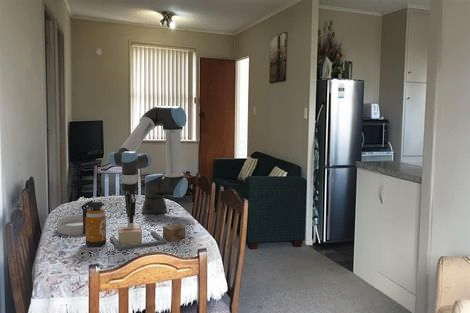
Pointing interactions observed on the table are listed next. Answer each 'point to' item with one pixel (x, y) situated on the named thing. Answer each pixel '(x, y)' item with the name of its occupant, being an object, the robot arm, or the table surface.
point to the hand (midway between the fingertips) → (130, 228)
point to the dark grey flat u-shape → (157, 236)
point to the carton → (130, 235)
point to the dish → (70, 225)
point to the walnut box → (173, 232)
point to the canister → (94, 223)
